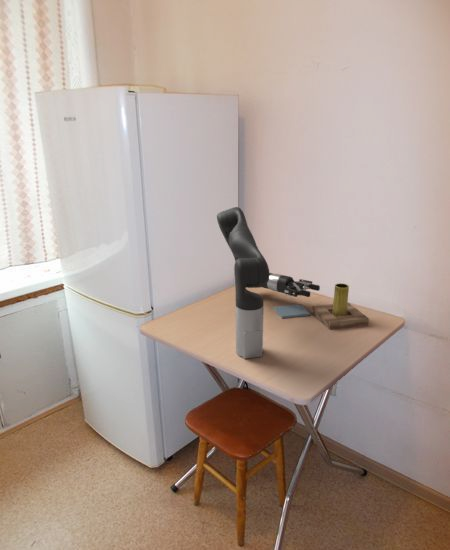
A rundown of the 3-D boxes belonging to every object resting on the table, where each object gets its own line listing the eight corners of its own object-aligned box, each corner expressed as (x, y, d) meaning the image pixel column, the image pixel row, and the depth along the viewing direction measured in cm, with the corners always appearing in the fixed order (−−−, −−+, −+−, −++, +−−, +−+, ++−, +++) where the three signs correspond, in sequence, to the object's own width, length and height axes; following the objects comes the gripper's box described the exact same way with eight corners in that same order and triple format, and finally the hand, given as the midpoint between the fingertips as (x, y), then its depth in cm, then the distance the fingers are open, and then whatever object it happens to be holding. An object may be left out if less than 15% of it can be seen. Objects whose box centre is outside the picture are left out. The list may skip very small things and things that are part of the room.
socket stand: (368, 325, 164) (368, 318, 163) (329, 329, 160) (330, 322, 159) (348, 309, 178) (348, 302, 177) (312, 313, 175) (312, 306, 174)
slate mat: (309, 315, 173) (310, 313, 173) (282, 318, 171) (282, 316, 170) (300, 306, 182) (300, 304, 182) (274, 309, 180) (274, 306, 180)
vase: (349, 318, 170) (352, 285, 165) (342, 323, 165) (345, 289, 161) (336, 314, 173) (338, 281, 169) (328, 319, 169) (330, 285, 165)
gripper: (271, 279, 176) (307, 287, 167) (288, 270, 187) (322, 278, 177) (271, 296, 178) (306, 305, 169) (288, 286, 189) (321, 294, 180)
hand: (314, 291), depth 173 cm, fingers open, 8 cm apart
